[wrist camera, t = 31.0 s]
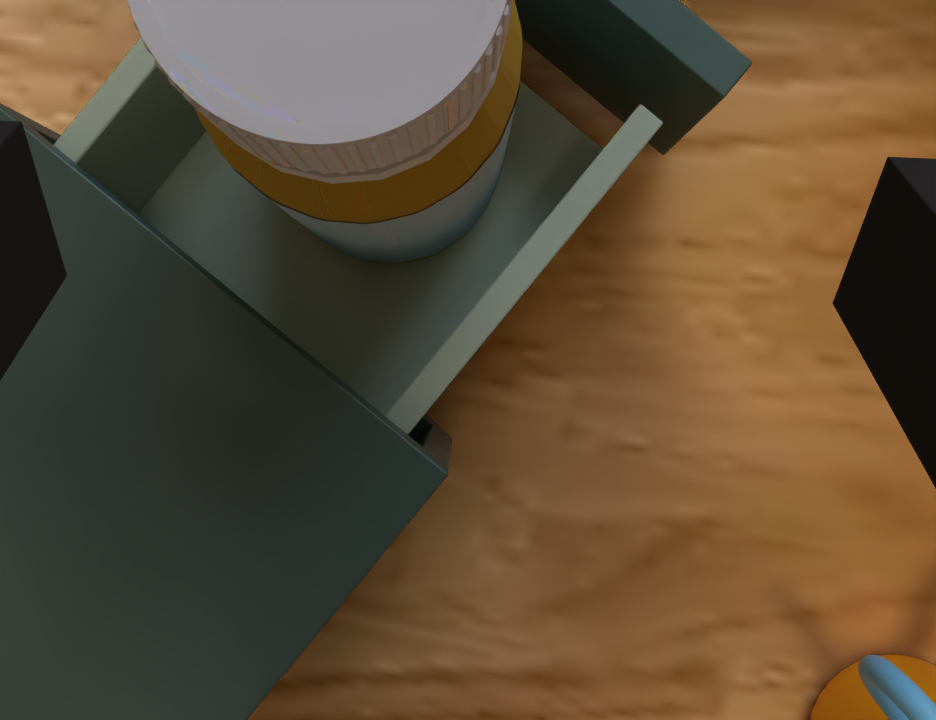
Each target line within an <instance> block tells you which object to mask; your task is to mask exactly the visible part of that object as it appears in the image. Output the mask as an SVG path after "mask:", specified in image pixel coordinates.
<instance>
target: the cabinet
mask: <svg viewBox="0 0 936 720" xmlns="http://www.w3.org/2000/svg"><path fill="white" fill-rule="evenodd" d="M0 121H21V122H22V123H23V127H24V130H25V134H26V137H27V140H28V144H29V147H30V151H31V154H32V157H33V161H34V164H35V168H36V171H37V175H38V178H39V181H40V185H41V188H42V192H43V195H44V198H45V202H46V205H47V209H48V212H49V216H50V219H51V222H52V226H53V229H54V233H55V236H56V239H57V243H58V246H59V250H60V253H61V257H62V260H63V263H64V267H65V270H66V274H67V277H66V278H65V280H64V281H63V283H62V285H61V286H60V288H59V289H58V291H57V292H56V294H55V296H54V297H53V299H52V300H51V302H50V303H49V305H48V307H47V308H46V310H45V311H44V313H43V314H42V316H41V318H40V319H39V321H38V322H37V324H36V325H35V327H34V329H33V330H32V332H31V333H30V335H29V336H28V338H27V340H26V341H25V343H24V344H23V346H22V348H21V349H20V351H19V352H18V354H17V355H16V357H15V359H14V360H13V362H12V363H11V365H10V366H9V368H8V370H7V371H6V373H5V374H4V376H3V377H2V379H1V381H0V720H247V719H248V718H249V717H250V716H251V714H252V713H253V712H254V711H255V710H256V708H257V707H258V706H259V705H260V704H261V702H262V701H263V700H264V699H265V697H266V696H267V695H268V694H269V693H270V691H271V690H272V689H273V688H274V686H275V685H276V684H277V683H278V682H279V680H280V679H281V678H282V677H283V675H284V674H285V673H286V672H287V671H288V669H289V668H290V667H291V666H292V665H293V663H294V662H295V661H296V660H297V658H298V657H299V656H300V655H301V654H302V652H303V651H304V650H305V649H306V647H307V646H308V645H309V644H310V643H311V641H312V640H313V639H314V638H315V637H316V635H317V634H318V633H319V632H320V630H321V629H322V628H323V627H324V626H325V624H326V623H327V622H328V621H329V619H330V618H331V617H332V616H333V615H334V613H335V612H336V611H337V610H338V609H339V607H340V606H341V605H342V604H343V602H344V601H345V600H346V599H347V598H348V596H349V595H350V594H351V593H352V591H353V590H354V589H355V588H356V587H357V585H358V584H359V583H360V582H361V580H362V579H363V578H364V577H365V576H366V574H367V573H368V572H369V571H370V570H371V568H372V567H373V566H374V565H375V563H376V562H377V561H378V560H379V559H380V557H381V556H382V555H383V554H384V552H385V551H386V550H387V549H388V548H389V546H390V545H391V544H392V543H393V542H394V540H395V539H396V538H397V537H398V535H399V534H400V533H401V532H402V531H403V529H404V528H405V527H406V526H407V524H408V523H409V522H410V521H411V520H412V518H413V517H414V516H415V515H416V514H417V512H418V511H419V510H420V509H421V507H422V506H423V505H424V504H425V503H426V501H427V500H428V499H429V498H430V496H431V495H432V494H433V493H434V492H435V490H436V489H437V488H438V487H439V486H440V484H441V483H442V482H443V481H444V479H445V478H446V477H447V475H448V470H449V461H450V451H451V442H452V437H451V436H450V435H449V434H448V433H446V432H445V431H444V430H443V429H441V428H440V427H439V426H438V425H437V424H435V423H434V422H433V421H432V420H430V419H429V418H428V417H427V416H426V415H424V416H423V417H422V418H421V419H420V421H419V422H418V423H417V424H416V426H415V427H414V428H413V429H412V430H411V432H410V433H409V434H408V435H407V434H406V433H405V432H404V431H403V430H401V429H400V428H399V427H398V426H396V425H395V424H394V423H393V422H392V421H390V420H389V419H388V418H387V417H385V416H384V415H383V414H382V413H381V412H379V411H378V410H377V409H376V408H374V407H373V406H372V405H371V404H370V403H368V402H367V401H366V400H365V399H363V398H362V397H361V396H360V395H359V394H357V393H356V392H355V391H354V390H352V389H351V388H350V387H349V386H347V385H346V384H345V383H344V382H343V381H341V380H340V379H339V378H338V377H336V376H335V375H334V374H333V373H332V372H330V371H329V370H328V369H327V368H325V367H324V366H323V365H322V364H321V363H319V362H318V361H317V360H316V359H314V358H313V357H312V356H311V355H310V354H308V353H307V352H306V351H305V350H303V349H302V348H301V347H300V346H299V345H297V344H296V343H295V342H294V341H292V340H291V339H290V338H289V337H288V336H286V335H285V334H284V333H283V332H281V331H280V330H279V329H278V328H277V327H275V326H274V325H273V324H272V323H270V322H269V321H268V320H267V319H266V318H264V317H263V316H262V315H261V314H259V313H258V312H257V311H256V310H255V309H253V308H252V307H251V306H250V305H248V304H247V303H246V302H245V301H244V300H242V299H241V298H240V297H239V296H237V295H236V294H235V293H234V292H233V291H231V290H230V289H229V288H228V287H226V286H225V285H224V284H223V283H222V282H220V281H219V280H218V279H217V278H215V277H214V276H213V275H212V274H211V273H209V272H208V271H207V270H206V269H204V268H203V267H202V266H201V265H199V264H198V263H197V262H196V261H195V260H193V259H192V258H191V257H190V256H188V255H187V254H186V253H185V252H184V251H182V250H181V249H180V248H179V247H177V246H176V245H175V244H174V243H173V242H171V241H170V240H169V239H168V238H166V237H165V236H164V235H163V234H162V233H160V232H159V231H158V230H157V229H155V228H154V227H153V226H152V225H151V224H149V223H148V222H147V221H146V220H144V219H143V218H142V217H141V216H140V215H138V214H137V213H136V212H135V211H133V210H132V209H131V208H130V207H129V206H127V205H126V204H125V203H124V202H122V201H121V200H120V199H119V198H118V197H116V196H115V195H114V194H113V193H111V192H110V191H109V190H108V189H107V188H105V187H104V186H103V185H102V184H100V183H99V182H98V181H97V180H96V179H94V178H93V177H92V176H91V175H89V174H88V173H87V172H86V171H85V170H83V169H82V168H81V167H80V166H78V165H77V164H76V163H75V162H74V161H72V160H71V159H70V158H69V157H67V156H66V155H65V154H64V153H63V152H61V151H60V150H59V149H58V148H56V147H55V146H54V144H55V142H56V141H57V140H58V139H59V138H60V136H61V135H59V134H57V133H56V132H54V131H52V130H50V129H48V128H46V127H44V126H42V125H41V124H39V123H37V122H35V121H33V120H31V119H29V118H27V117H25V116H24V115H22V114H20V113H18V112H16V111H14V110H12V109H10V108H9V107H6V106H4V105H2V104H1V103H0Z"/></svg>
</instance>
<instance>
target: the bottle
mask: <svg viewBox="0 0 936 720" xmlns="http://www.w3.org/2000/svg"><path fill="white" fill-rule="evenodd" d="M128 5H129V9H130V10H131V13H132V15H133V18H134V20H135V26H136V29H137V30H138V31H139V32H140V34H141V36H142V37H143V39H144V46H145V47H146V49H147V51H149V52H150V53H151V54H152V55H153V56H154V57H155V64H156V65H157V67H158V68H159V69H160V70H161V71H162V72H163V73H164V74H165V75H166V76H167V77H168V81H169V82H170V83H171V85H172V86H173V87H174V88H175V89H177V90H178V91H179V92H180V93H181V94H182V95H183V96H184V98H185V99H186V100H187V101H188V102H189V103H190V104H192V105H193V106H194V107H195V110H196V112H197V114H198V117H199V119H200V121H201V123H202V125H203V126H204V128H205V129H206V131H207V133H208V134H209V136H210V137H211V139H212V141H213V142H214V144H215V145H216V147H217V149H218V150H219V152H220V154H221V155H222V156H223V157H224V158H225V160H226V161H227V162H228V163H229V164H230V165H231V166H232V167H233V169H234V170H235V171H236V172H237V173H238V174H240V175H241V176H242V177H243V178H244V179H245V180H247V181H248V182H249V183H250V184H251V185H253V186H254V187H255V188H256V189H257V190H258V191H260V192H261V193H262V194H263V195H264V196H266V197H267V198H268V199H269V200H271V201H272V202H273V203H275V204H276V205H277V206H278V207H280V208H281V209H282V210H284V211H285V212H286V213H287V214H289V215H290V216H291V217H292V218H294V219H295V220H296V221H298V222H299V223H300V224H301V225H303V226H304V227H305V228H307V229H308V230H309V231H310V232H312V233H313V234H314V235H316V236H317V237H318V238H319V239H321V240H322V241H323V242H325V243H326V244H327V245H329V246H331V247H332V248H334V249H336V250H338V251H341V252H343V253H346V254H348V255H351V256H353V257H356V258H358V259H360V260H364V261H368V262H377V263H390V264H400V263H407V262H411V261H415V260H419V259H424V258H428V257H431V256H433V255H435V254H438V253H439V252H441V251H443V250H444V249H446V248H447V247H449V246H451V245H452V244H454V243H455V242H457V241H459V240H460V239H461V238H462V237H463V236H465V235H466V234H467V232H468V231H469V230H470V229H471V228H472V227H473V225H474V224H475V223H476V222H477V221H478V220H479V218H480V217H481V216H482V215H483V213H484V211H485V210H486V208H487V206H488V204H489V202H490V200H491V197H492V195H493V192H494V190H495V187H496V185H497V183H498V180H499V176H500V172H501V167H502V163H503V159H504V154H505V150H506V146H507V142H508V137H509V133H510V129H511V124H512V120H513V116H514V111H515V107H516V103H517V98H518V94H519V88H520V75H521V62H522V45H523V41H522V29H521V25H520V21H519V16H518V12H517V8H516V4H515V0H128Z"/></svg>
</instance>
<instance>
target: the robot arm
mask: <svg viewBox="0 0 936 720" xmlns="http://www.w3.org/2000/svg"><path fill="white" fill-rule="evenodd" d="M66 277H67V274H66V270H65V267H64V263H63V260H62V257H61V253H60V250H59V246H58V243H57V239H56V236H55V233H54V229H53V226H52V222H51V219H50V216H49V212H48V209H47V205H46V202H45V198H44V195H43V192H42V188H41V185H40V181H39V178H38V175H37V171H36V168H35V164H34V161H33V157H32V154H31V151H30V147H29V144H28V140H27V137H26V134H25V130H24V127H23V123H22V122H21V121H0V381H1V379H2V377H3V376H4V374H5V373H6V371H7V370H8V368H9V366H10V365H11V363H12V362H13V360H14V359H15V357H16V355H17V354H18V352H19V351H20V349H21V348H22V346H23V344H24V343H25V341H26V340H27V338H28V336H29V335H30V333H31V332H32V330H33V329H34V327H35V325H36V324H37V322H38V321H39V319H40V318H41V316H42V314H43V313H44V311H45V310H46V308H47V307H48V305H49V303H50V302H51V300H52V299H53V297H54V296H55V294H56V292H57V291H58V289H59V288H60V286H61V285H62V283H63V281H64V280H65V278H66ZM833 305H834V307H835V308H836V310H837V312H838V314H839V316H840V317H841V319H842V321H843V323H844V325H845V326H846V328H847V330H848V332H849V334H850V335H851V337H852V339H853V341H854V342H855V344H856V346H857V348H858V350H859V351H860V353H861V355H862V357H863V359H864V360H865V362H866V364H867V366H868V368H869V369H870V371H871V373H872V375H873V377H874V378H875V380H876V382H877V384H878V386H879V387H880V389H881V391H882V393H883V395H884V396H885V398H886V400H887V402H888V404H889V405H890V407H891V409H892V411H893V412H894V414H895V416H896V418H897V420H898V421H899V423H900V425H901V427H902V429H903V430H904V432H905V434H906V436H907V438H908V439H909V441H910V443H911V445H912V447H913V448H914V450H915V452H916V454H917V456H918V457H919V459H920V461H921V463H922V465H923V466H924V468H925V470H926V472H927V474H928V475H929V477H930V479H931V481H932V482H933V484H934V486H935V488H936V159H925V158H901V157H888V158H887V160H886V163H885V166H884V168H883V171H882V173H881V176H880V179H879V181H878V184H877V187H876V189H875V192H874V195H873V197H872V200H871V203H870V205H869V208H868V211H867V213H866V216H865V219H864V221H863V224H862V227H861V229H860V232H859V235H858V237H857V240H856V243H855V245H854V248H853V251H852V253H851V256H850V259H849V261H848V264H847V267H846V269H845V272H844V275H843V277H842V280H841V282H840V285H839V288H838V290H837V293H836V296H835V298H834V301H833Z"/></svg>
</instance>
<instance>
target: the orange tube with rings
mask: <svg viewBox="0 0 936 720" xmlns="http://www.w3.org/2000/svg"><path fill="white" fill-rule="evenodd" d="M810 720H936V666H935V665H933V664H931V663H929V662H927V661H925V660H922V659H919V658H915V657H911V656H905V655H881V656H878V655H867V656H865V657H863V658H862V659H861V660H860V661H858V662H855V663H854V664H852V665H850V666H849V667H847V668H845V669H844V670H842V671H841V672H839V673H838V674H837V675H836V676H835V677H834V678H833V679H832V680H831V681H829V683H828V684H827V685H826V687H825V688H824V690H823V691H822V692H821V693H820V695H819V697H818V699H817V701H816V703H815V705H814V707H813V709H812V713H811V718H810Z"/></svg>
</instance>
